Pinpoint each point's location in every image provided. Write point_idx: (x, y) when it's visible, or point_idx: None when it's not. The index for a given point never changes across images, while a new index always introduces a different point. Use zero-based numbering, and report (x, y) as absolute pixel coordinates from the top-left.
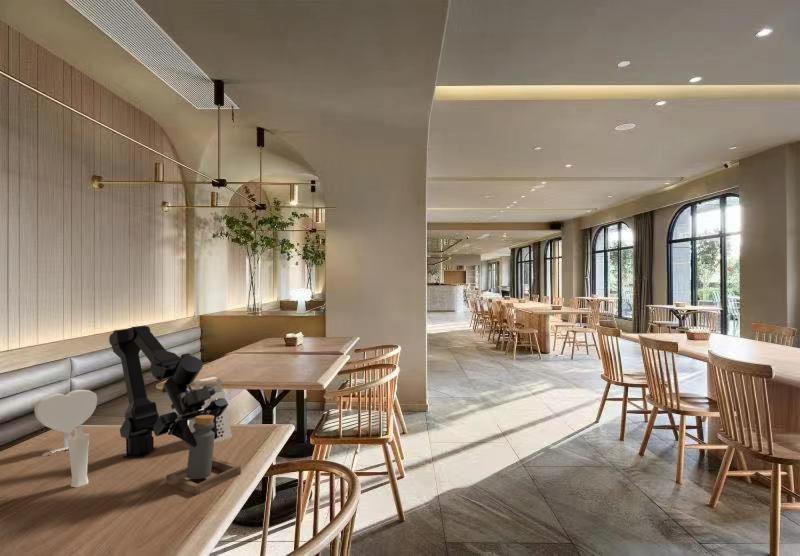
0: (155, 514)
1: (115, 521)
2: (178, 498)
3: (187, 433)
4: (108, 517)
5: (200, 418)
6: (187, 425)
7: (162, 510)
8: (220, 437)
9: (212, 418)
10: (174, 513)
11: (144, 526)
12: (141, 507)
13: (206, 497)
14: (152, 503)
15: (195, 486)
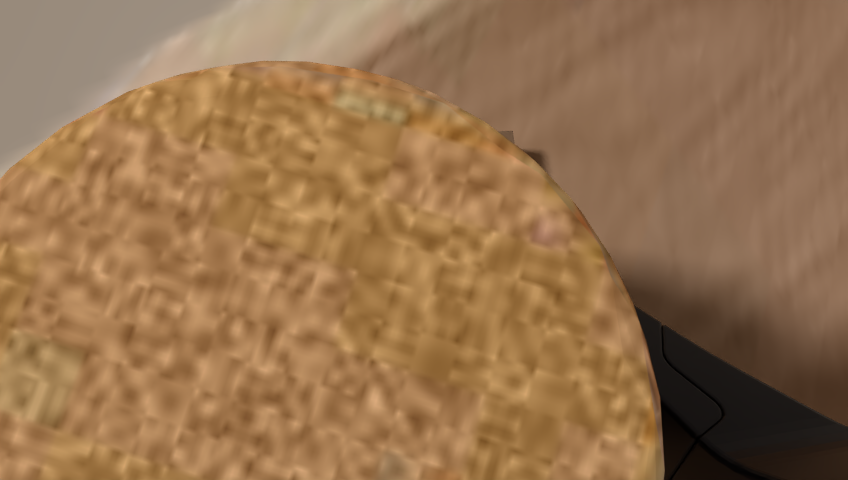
0: (695, 136)
1: (828, 230)
2: (569, 196)
3: (676, 334)
4: (842, 298)
5: (572, 204)
6: (751, 463)
7: (663, 144)
8: None
9: (129, 128)
10: (636, 69)
11: (755, 77)
12: (719, 264)
13: (473, 78)
14: (672, 259)
15: (509, 139)
